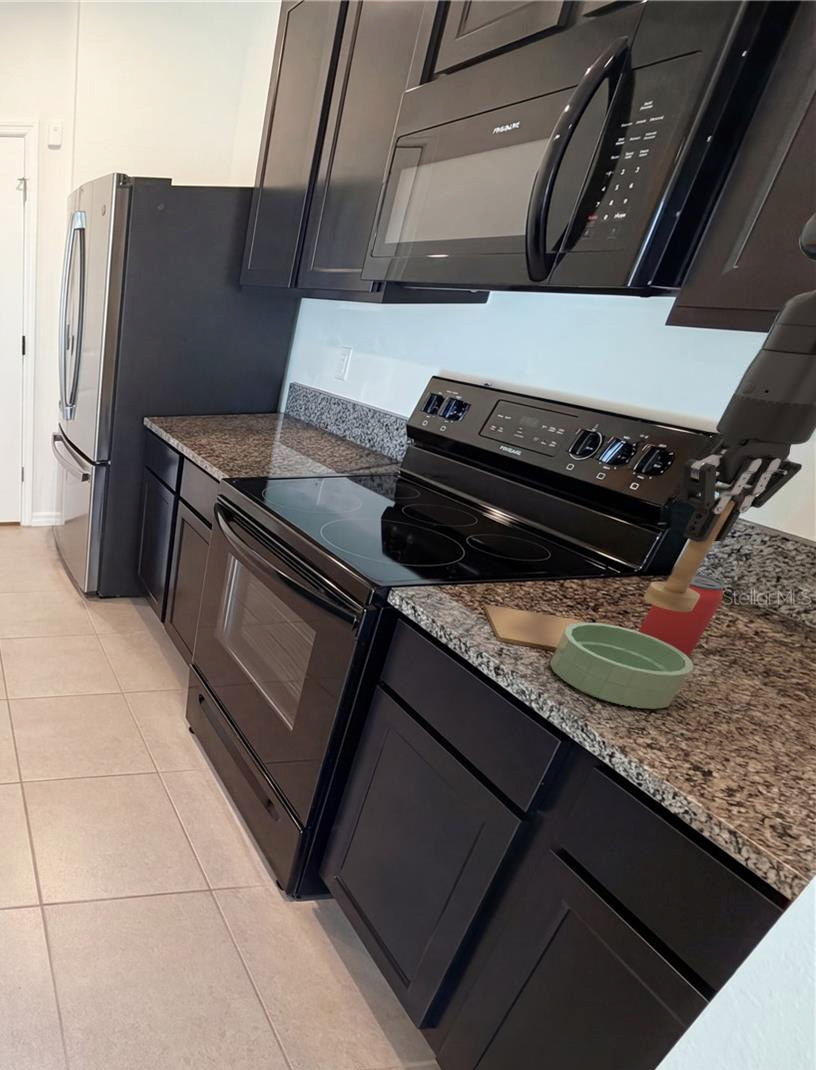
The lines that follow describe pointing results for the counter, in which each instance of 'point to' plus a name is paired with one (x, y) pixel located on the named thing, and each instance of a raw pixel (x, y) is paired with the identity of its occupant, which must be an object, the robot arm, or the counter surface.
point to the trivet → (527, 627)
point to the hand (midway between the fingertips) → (702, 538)
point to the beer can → (685, 616)
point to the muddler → (685, 573)
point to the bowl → (620, 665)
